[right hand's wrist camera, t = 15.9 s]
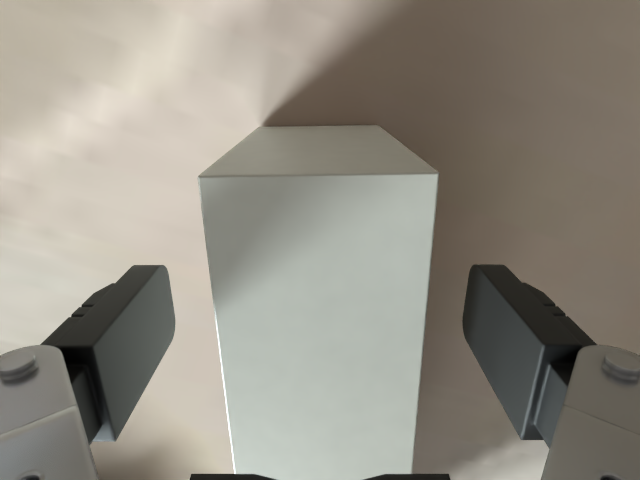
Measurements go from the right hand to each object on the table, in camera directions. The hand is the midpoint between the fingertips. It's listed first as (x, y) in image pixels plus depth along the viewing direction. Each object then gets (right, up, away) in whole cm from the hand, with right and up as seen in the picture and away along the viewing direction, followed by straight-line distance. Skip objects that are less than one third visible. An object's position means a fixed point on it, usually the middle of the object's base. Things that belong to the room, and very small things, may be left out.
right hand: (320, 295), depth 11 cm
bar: (0, -5, +11) cm, 12 cm away
